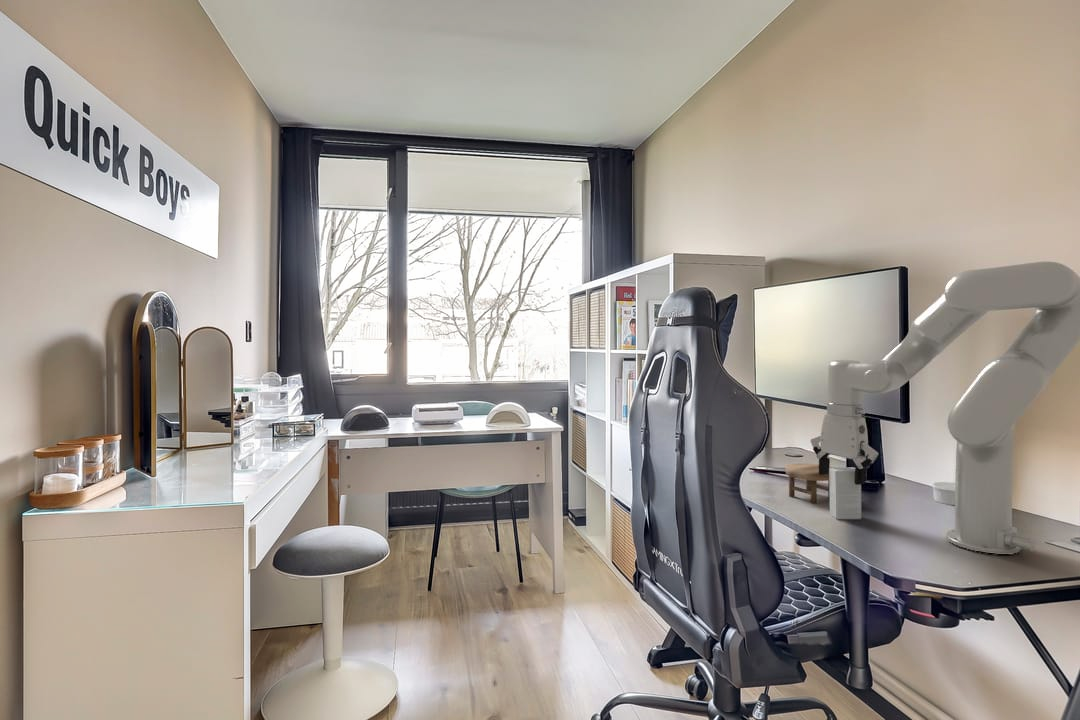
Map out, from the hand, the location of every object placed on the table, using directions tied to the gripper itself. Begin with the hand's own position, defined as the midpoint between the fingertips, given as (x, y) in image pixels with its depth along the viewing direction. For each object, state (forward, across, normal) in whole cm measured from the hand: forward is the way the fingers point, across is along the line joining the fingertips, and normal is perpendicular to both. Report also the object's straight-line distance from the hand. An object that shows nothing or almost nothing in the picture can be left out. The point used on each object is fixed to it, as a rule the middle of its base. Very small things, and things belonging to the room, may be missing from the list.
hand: (841, 478), depth 142 cm
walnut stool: (+10, +14, -7) cm, 18 cm away
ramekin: (+9, -7, -35) cm, 37 cm away
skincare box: (+10, -1, 0) cm, 10 cm away
